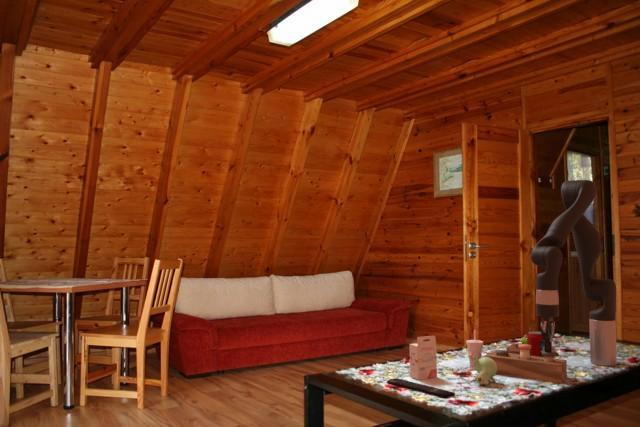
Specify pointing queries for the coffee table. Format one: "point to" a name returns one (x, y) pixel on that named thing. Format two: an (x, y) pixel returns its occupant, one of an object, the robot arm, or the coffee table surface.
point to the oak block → (530, 367)
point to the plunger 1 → (502, 353)
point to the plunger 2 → (548, 356)
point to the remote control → (421, 388)
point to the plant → (514, 347)
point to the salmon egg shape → (524, 351)
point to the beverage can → (535, 343)
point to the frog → (483, 369)
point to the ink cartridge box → (423, 358)
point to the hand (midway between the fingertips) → (548, 352)
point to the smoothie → (474, 349)
